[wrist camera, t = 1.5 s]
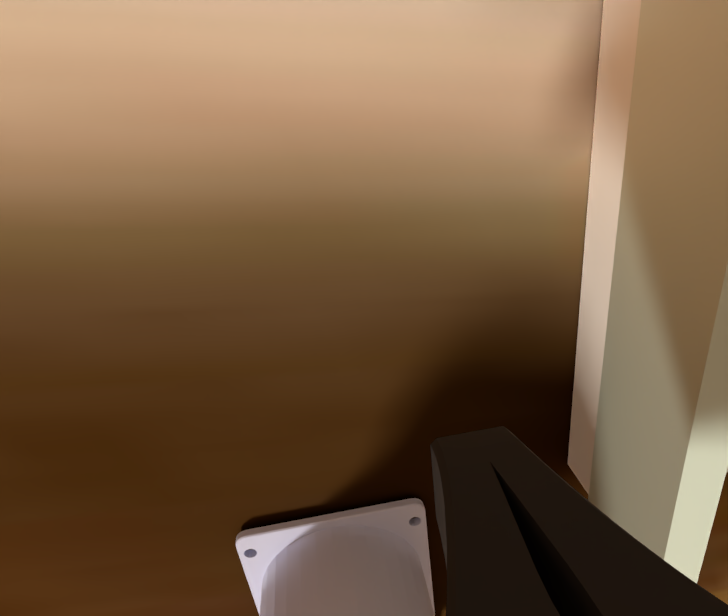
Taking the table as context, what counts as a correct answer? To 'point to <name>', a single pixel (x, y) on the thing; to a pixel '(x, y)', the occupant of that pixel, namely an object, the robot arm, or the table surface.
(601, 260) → the cable duct
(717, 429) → the duct lid
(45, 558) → the table surface
